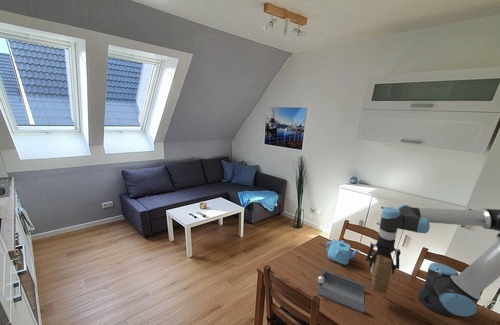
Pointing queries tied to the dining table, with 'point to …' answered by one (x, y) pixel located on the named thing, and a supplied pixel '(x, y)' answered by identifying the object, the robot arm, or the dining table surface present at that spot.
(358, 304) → the dock
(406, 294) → the dining table surface
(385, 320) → the dining table surface
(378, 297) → the dining table surface
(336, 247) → the teapot
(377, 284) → the brown blocky piece
